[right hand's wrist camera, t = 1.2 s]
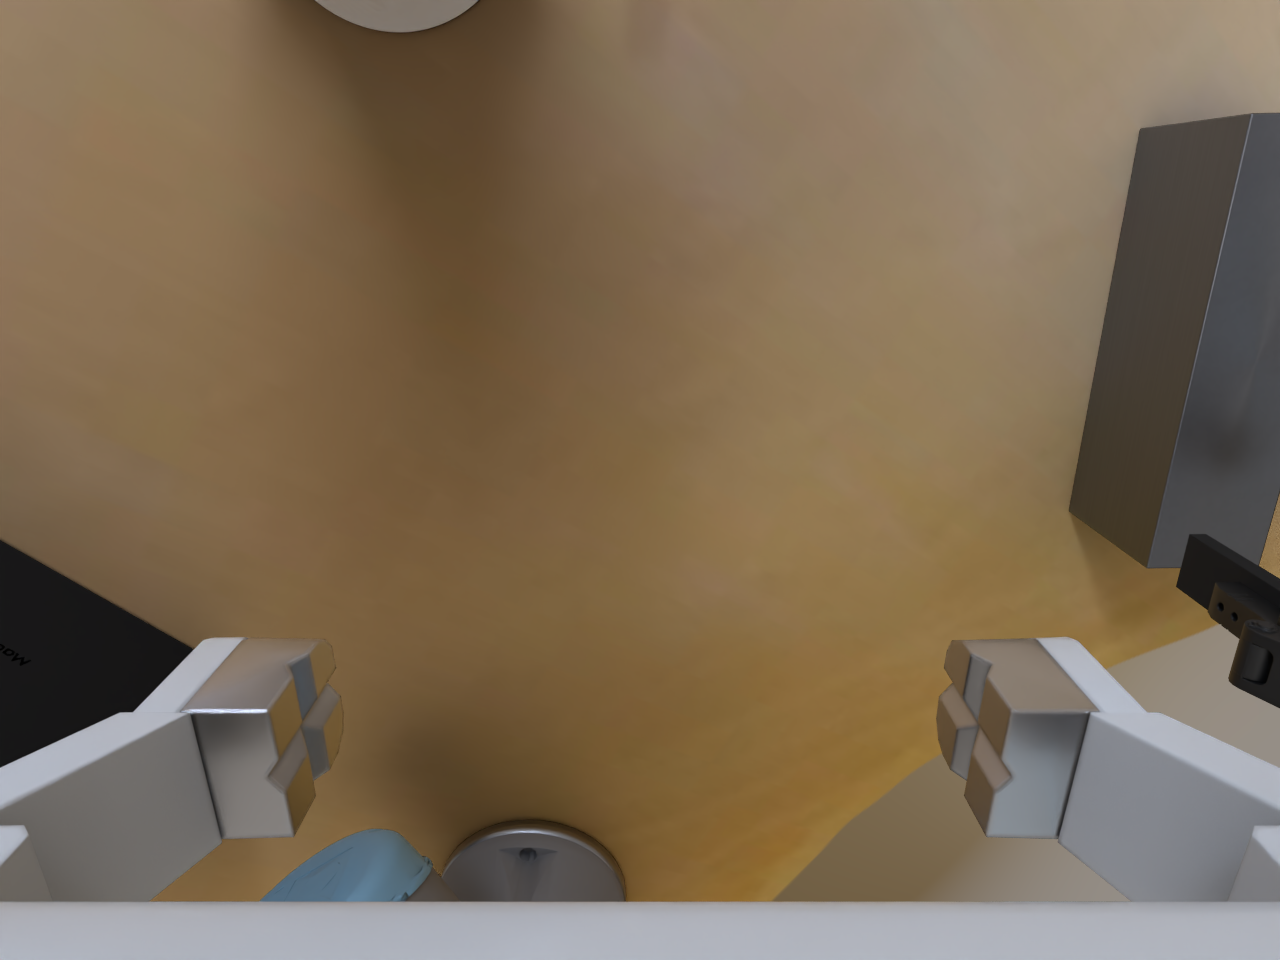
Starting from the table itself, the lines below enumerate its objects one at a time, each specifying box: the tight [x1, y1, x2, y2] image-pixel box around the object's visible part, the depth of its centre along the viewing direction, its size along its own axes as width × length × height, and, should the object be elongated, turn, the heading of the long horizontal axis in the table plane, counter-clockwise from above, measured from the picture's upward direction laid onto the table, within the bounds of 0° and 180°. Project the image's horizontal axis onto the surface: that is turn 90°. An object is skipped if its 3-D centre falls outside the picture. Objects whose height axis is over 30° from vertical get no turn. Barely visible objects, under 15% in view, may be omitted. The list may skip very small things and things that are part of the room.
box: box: [1069, 113, 1280, 568], centre depth 44 cm, size 24×6×9 cm, turn 1°
